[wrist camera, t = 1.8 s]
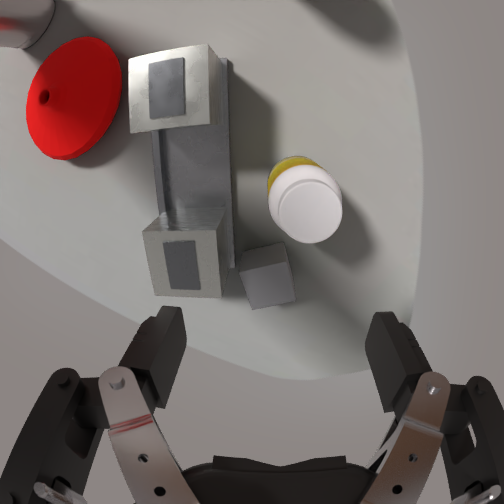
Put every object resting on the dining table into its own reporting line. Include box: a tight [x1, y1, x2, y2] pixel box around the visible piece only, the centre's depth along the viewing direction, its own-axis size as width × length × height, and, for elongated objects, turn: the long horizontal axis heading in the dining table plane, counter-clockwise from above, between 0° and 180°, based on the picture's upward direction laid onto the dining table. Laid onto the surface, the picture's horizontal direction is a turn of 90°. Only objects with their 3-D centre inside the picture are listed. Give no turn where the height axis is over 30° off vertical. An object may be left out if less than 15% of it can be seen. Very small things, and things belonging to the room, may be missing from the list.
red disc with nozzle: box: [26, 36, 122, 160], centre depth 22 cm, size 16×16×7 cm
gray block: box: [239, 242, 296, 310], centre depth 32 cm, size 5×5×5 cm
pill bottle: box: [268, 156, 342, 243], centre depth 24 cm, size 6×6×11 cm
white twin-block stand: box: [129, 44, 235, 298], centre depth 25 cm, size 24×8×8 cm, turn 1°
